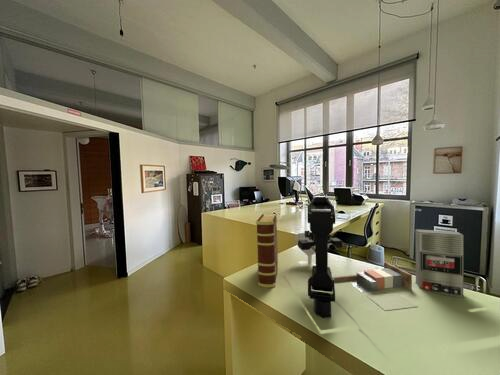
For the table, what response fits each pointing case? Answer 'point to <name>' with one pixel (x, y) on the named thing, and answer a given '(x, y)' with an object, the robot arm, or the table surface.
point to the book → (394, 277)
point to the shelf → (405, 275)
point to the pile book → (391, 301)
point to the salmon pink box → (376, 278)
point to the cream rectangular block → (386, 278)
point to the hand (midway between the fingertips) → (320, 262)
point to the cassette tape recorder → (440, 261)
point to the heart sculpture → (308, 252)
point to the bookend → (365, 283)
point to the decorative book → (267, 250)
